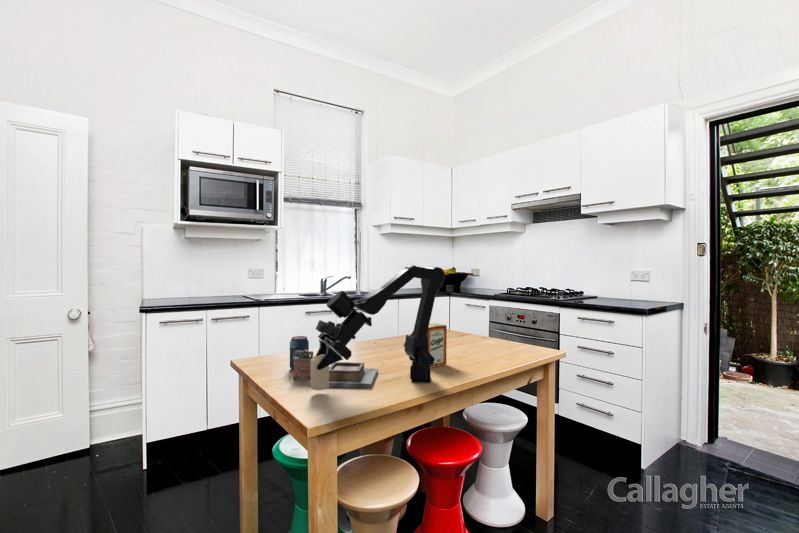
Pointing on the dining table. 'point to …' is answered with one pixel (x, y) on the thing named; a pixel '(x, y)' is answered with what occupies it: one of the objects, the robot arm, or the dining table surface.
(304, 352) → the lighter
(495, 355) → the dining table surface
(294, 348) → the soda can
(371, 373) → the candle stand
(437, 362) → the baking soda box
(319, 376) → the candle
